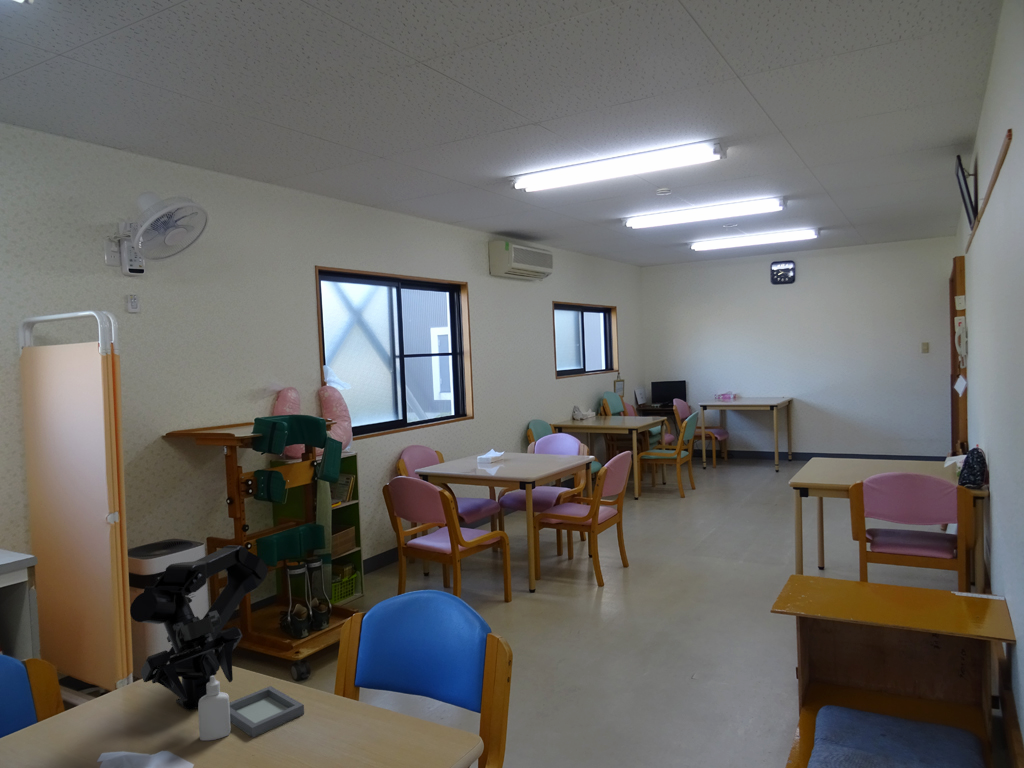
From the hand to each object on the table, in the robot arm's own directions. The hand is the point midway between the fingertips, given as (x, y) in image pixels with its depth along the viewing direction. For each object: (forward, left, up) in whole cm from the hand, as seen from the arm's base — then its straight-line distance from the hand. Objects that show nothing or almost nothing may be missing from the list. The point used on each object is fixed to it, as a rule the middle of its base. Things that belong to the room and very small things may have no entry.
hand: (209, 690), depth 137 cm
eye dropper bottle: (+1, 0, -9) cm, 9 cm away
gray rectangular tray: (+1, +10, -9) cm, 14 cm away
